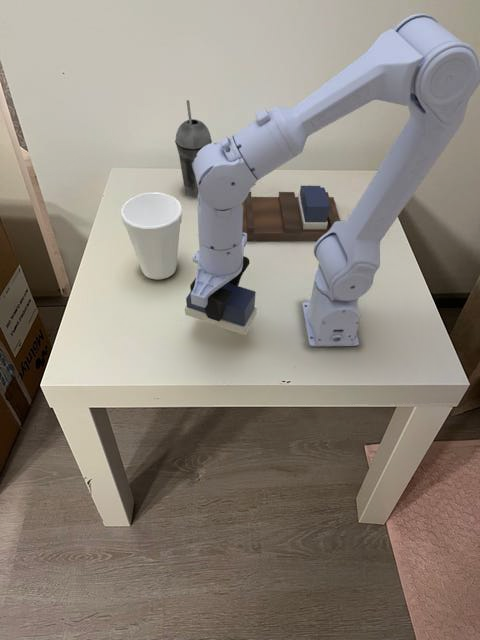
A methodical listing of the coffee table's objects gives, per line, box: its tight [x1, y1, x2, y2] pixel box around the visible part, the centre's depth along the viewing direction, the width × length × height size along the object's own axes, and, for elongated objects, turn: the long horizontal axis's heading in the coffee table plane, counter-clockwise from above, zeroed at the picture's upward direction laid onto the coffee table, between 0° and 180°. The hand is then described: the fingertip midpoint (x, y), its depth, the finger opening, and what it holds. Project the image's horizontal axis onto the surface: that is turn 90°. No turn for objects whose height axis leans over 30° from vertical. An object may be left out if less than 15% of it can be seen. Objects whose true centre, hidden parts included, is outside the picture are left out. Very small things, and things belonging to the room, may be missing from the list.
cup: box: [120, 191, 183, 280], centre depth 83 cm, size 10×10×13 cm
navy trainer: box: [184, 283, 258, 336], centre depth 73 cm, size 10×5×5 cm, turn 67°
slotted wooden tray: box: [242, 191, 341, 242], centre depth 97 cm, size 12×20×3 cm, turn 92°
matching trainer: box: [297, 185, 330, 229], centre depth 96 cm, size 10×5×5 cm, turn 2°
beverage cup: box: [174, 99, 213, 198], centre depth 98 cm, size 7×7×20 cm
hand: (221, 307), depth 74 cm, fingers closed on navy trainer, 4 cm apart
